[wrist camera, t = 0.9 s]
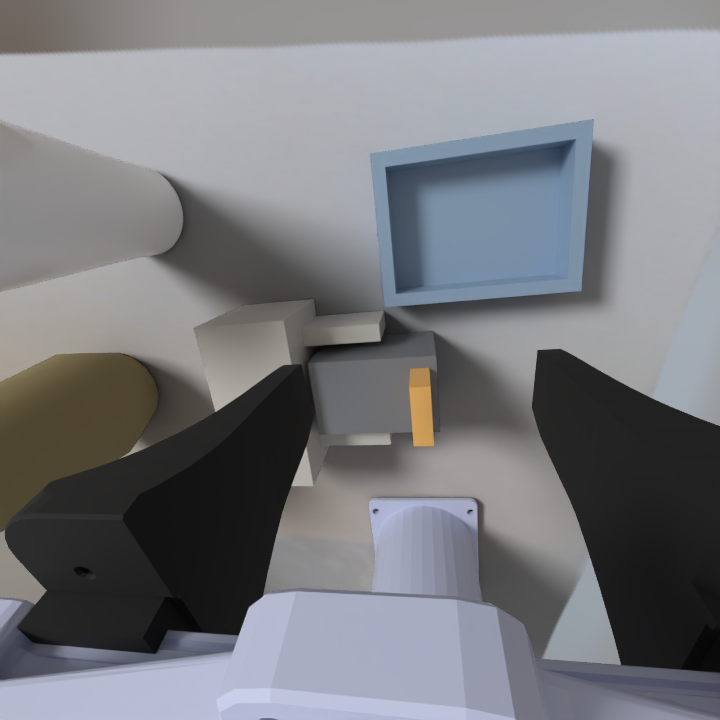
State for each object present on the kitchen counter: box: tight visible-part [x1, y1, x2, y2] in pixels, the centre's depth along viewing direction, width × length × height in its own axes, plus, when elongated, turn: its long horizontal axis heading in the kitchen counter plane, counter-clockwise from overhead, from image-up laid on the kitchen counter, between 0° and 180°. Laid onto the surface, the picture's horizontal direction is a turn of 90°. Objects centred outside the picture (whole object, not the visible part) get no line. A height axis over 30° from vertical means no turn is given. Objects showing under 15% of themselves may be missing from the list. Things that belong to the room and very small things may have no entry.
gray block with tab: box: [308, 331, 440, 446], centre depth 22 cm, size 7×4×8 cm, turn 96°
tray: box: [370, 119, 594, 307], centre depth 21 cm, size 8×10×2 cm
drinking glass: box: [0, 120, 183, 292], centre depth 17 cm, size 7×7×15 cm
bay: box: [194, 299, 392, 486], centre depth 24 cm, size 10×10×6 cm
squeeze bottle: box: [0, 353, 159, 532], centre depth 21 cm, size 8×8×18 cm
